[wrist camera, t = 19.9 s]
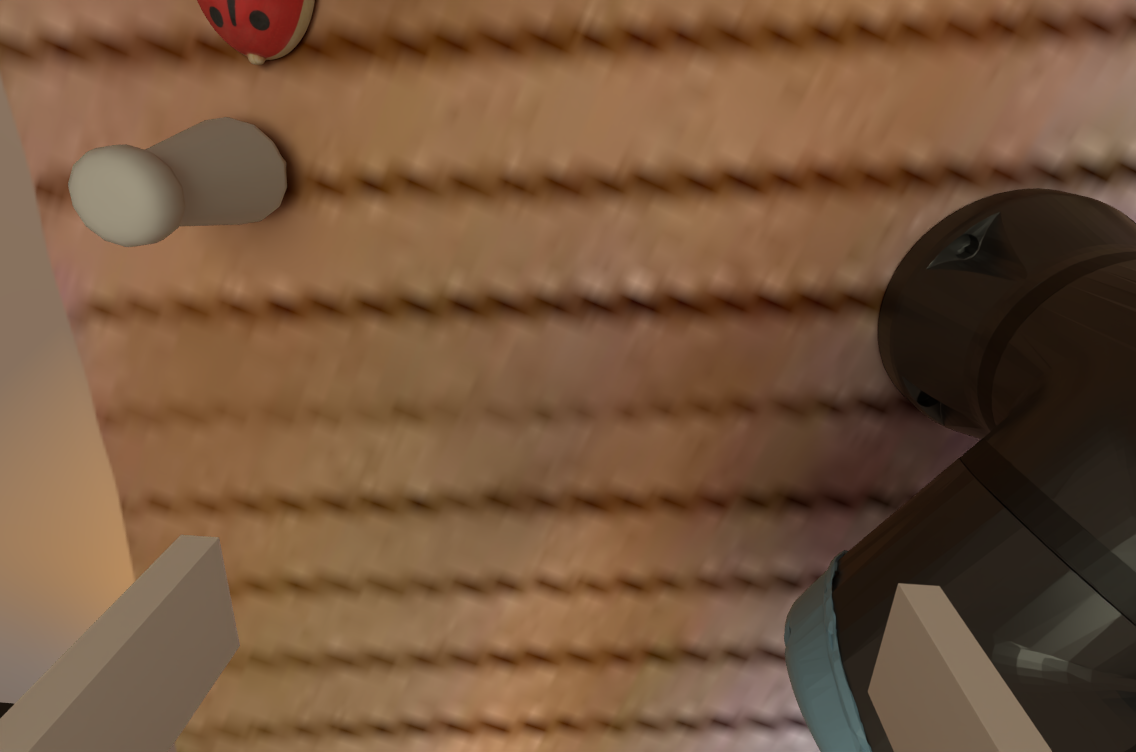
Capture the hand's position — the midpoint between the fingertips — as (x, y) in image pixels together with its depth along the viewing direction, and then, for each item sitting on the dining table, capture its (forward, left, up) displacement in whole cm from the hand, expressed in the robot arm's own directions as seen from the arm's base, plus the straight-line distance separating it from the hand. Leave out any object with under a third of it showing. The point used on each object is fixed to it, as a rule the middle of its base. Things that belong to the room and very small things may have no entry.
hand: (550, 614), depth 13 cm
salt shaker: (+20, -5, -31) cm, 37 cm away
